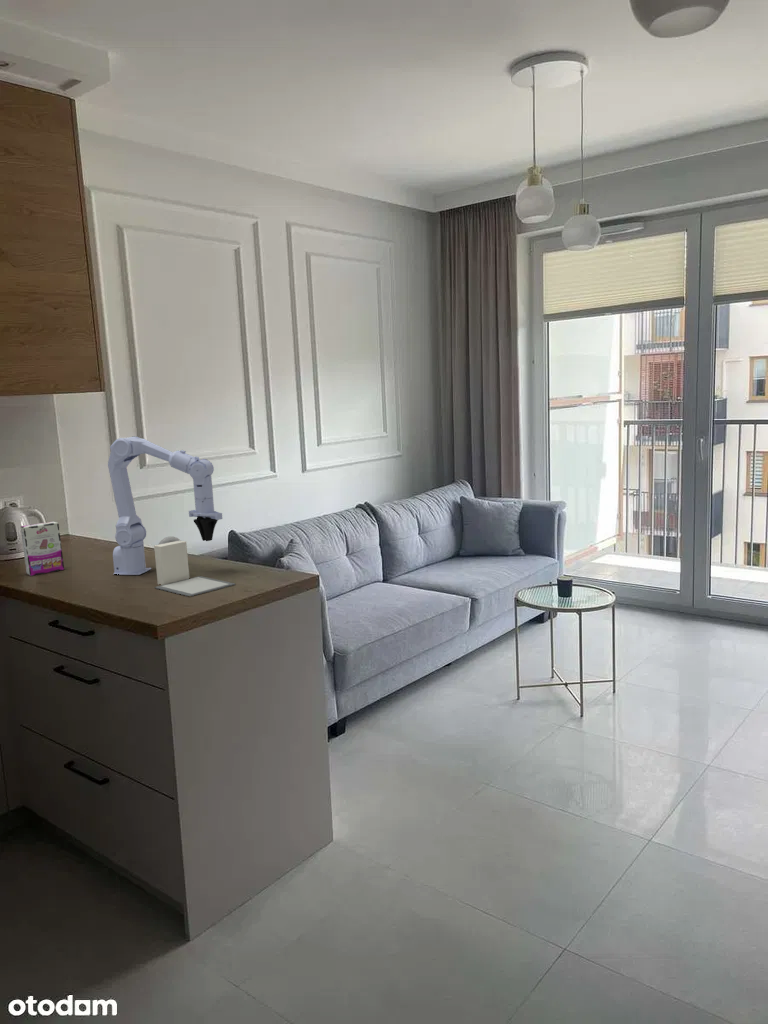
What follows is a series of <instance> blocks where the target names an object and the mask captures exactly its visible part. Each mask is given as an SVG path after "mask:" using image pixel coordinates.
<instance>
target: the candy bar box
mask: <svg viewBox="0 0 768 1024" xmlns="http://www.w3.org/2000/svg"><path fill="white" fill-rule="evenodd" d="M20 534H21V542H22V548H23V557H24V563H25V570H26V571H25V572H26V574H27V575H29V576H30V577H31V576H36V575H37V576H38V575H42V574H43V575H44V574H49V573H53V572H59V570H60V571H64V570H65V563H64V556H63V555H64V554H63V548H62V542H61V540H62V539H61V531H60V524H59V522H57V521H49V522H48V521H47V522H40V523H35V524H28V525H21V526H20Z"/></svg>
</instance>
